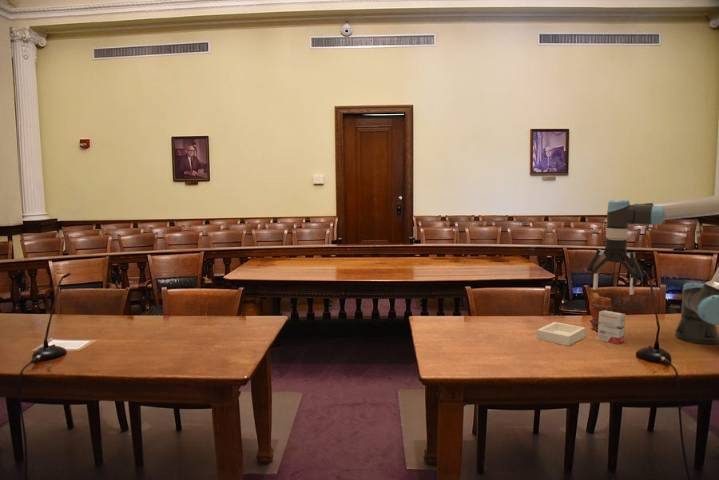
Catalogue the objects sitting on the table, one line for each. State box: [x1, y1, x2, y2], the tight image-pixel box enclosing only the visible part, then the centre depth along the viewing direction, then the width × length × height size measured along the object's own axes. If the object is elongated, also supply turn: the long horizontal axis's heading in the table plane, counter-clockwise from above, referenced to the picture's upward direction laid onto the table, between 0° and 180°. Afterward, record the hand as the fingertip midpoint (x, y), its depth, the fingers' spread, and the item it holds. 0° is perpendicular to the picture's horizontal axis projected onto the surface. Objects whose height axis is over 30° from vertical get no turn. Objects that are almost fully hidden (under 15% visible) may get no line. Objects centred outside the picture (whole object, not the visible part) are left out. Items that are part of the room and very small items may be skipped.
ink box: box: [597, 310, 626, 345], centre depth 200 cm, size 8×5×12 cm, turn 39°
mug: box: [588, 292, 614, 332], centre depth 217 cm, size 15×8×15 cm, turn 179°
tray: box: [536, 321, 586, 347], centre depth 204 cm, size 13×17×4 cm
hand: (612, 291), depth 198 cm, fingers open, 13 cm apart
